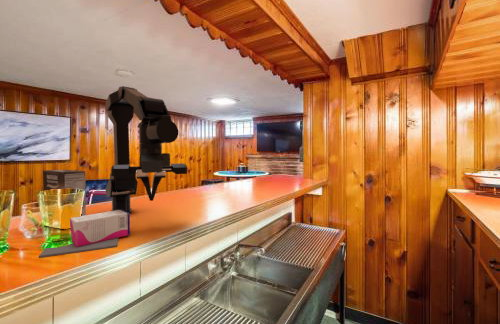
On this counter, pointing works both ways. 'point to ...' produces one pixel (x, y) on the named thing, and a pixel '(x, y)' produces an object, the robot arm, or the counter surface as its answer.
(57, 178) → the coffee box
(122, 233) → the supplement box
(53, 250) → the bar mat
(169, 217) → the counter surface
